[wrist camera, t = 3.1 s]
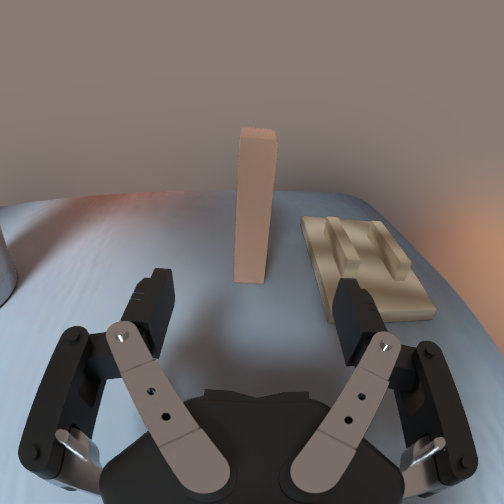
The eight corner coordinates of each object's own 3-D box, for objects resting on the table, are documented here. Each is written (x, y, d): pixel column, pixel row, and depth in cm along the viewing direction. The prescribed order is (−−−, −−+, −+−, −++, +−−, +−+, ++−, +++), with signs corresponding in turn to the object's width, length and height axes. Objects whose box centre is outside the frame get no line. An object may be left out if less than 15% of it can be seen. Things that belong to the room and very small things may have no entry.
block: (263, 284, 24) (277, 139, 18) (233, 282, 24) (239, 137, 18) (262, 252, 29) (273, 129, 22) (236, 250, 29) (242, 127, 22)
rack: (431, 319, 21) (446, 291, 19) (327, 323, 21) (338, 291, 19) (375, 230, 34) (381, 208, 33) (300, 224, 34) (304, 200, 33)
